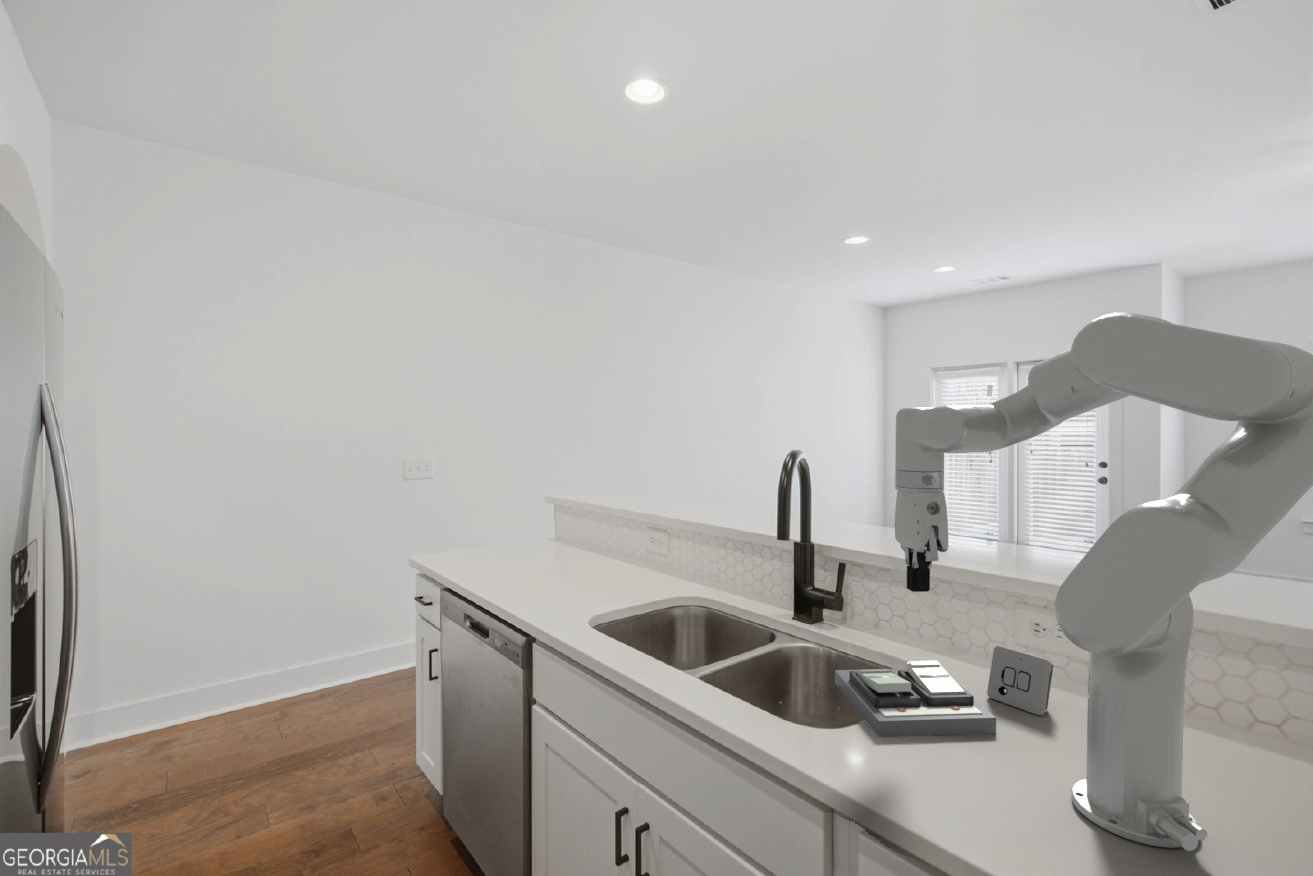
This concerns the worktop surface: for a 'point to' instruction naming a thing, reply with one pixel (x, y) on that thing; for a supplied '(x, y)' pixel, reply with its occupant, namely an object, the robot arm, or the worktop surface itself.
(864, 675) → the rocker sage
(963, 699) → the switch panel
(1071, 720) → the worktop surface
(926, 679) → the rocker ivory
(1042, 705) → the electrical switch
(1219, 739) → the worktop surface
